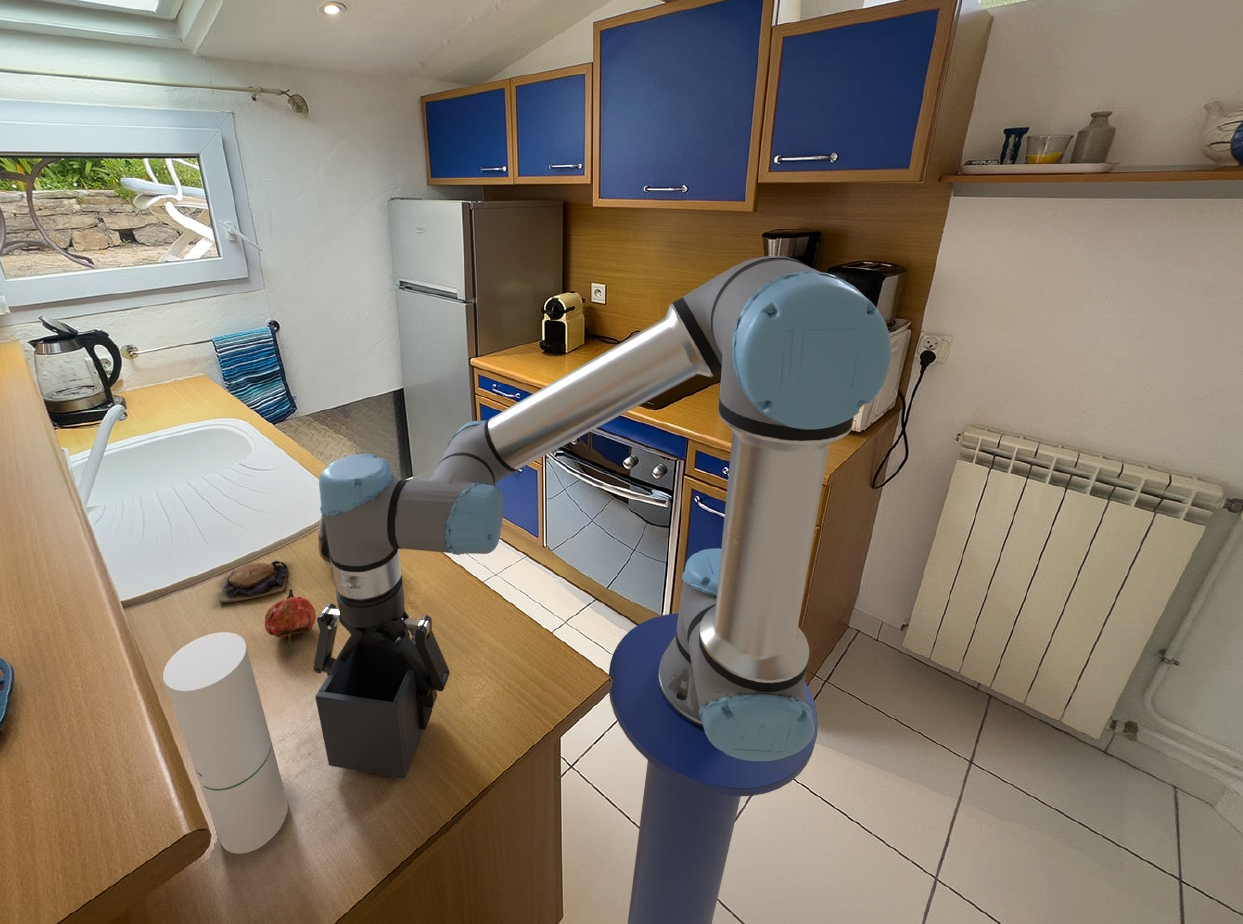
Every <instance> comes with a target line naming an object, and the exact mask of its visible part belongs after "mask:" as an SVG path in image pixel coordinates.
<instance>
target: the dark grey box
mask: <svg viewBox="0 0 1243 924" xmlns="http://www.w3.org/2000/svg"><path fill="white" fill-rule="evenodd" d="M411 640H412V639H411ZM412 642H413V643H414V644H415V641H413V640H412ZM394 643H395V642H394ZM415 646H416V644H415ZM418 687H419V686H418V685H417V684H416V683H415V675H414V670H408V671H406V670H405V669H404V667H403V666H402V665H401V663H400V662H399V661H398V660H397V658H396V657H395V656H393V657H391V656H390V655H389V654H388V652H387V651H386V650H385V648H379V647H376V646H364V645H362V643H360V642H358V643H357V645H356V646H355V648H354V650H353V651H352V653H351V654H350V656H349V657H348V659H347V661H346V662H345V664H344V660H338V661H337V662H336V664H335V665H334V667H333V669H332V670H331V672H330V673H329V675H328V676H327V677H326V678H325V680H324V681H323V683H322V684H321V686H320V688H319V690H318V691H317V693H316V694H315V696H314V697H315V702H316V708H317V712H318V718H319V723H320V727H321V734H322V738H323V742H324V743H323V744H324V748H325V752H326V756H327V757H326V758H327V762H328V766H329V767H334V768H335V767H336V768H339V769H347V770H352V771H359V772H364V773H369V774H375V775H382V776H387V777H393V778H399V779H404V780H405V779H406V777H407V775H408V772H409V769H410V767H411V764H412V762H413V759H414V757H415V754H416V752H417V749H418V747H419V744H420V741H421V739H422V736H423V734H424V731H425V730H422V729H420V727H419V718H418V708H417V699H416V692H417V689H418Z"/></svg>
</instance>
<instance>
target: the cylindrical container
mask: <svg viewBox="0 0 1243 924" xmlns="http://www.w3.org/2000/svg"><path fill="white" fill-rule="evenodd" d="M162 674H163V675H162V679H163V682H164V685H165V688H166V691H167V694H168V697H169V700H170V702H171V705H172V709H173V711H174V713H175V716H176V720H177V722H178V726H179V728H180V732H181V733H182V737H183V739H184V742H185V745H186V747H187V751H188V753H189V757H190V759H191V763H192V765H193V768H194V771H195V774H196V776H197V779H198V782H199V785H200V788H201V791H202V794H203V796H204V800H205V802H206V806H207V808H208V810H209V814H210V817H211V819H212V821H213V825H214V827H215V830H216V833H217V837H218V839H219V842H220V844H221V846H222V847H223V849H224V850H225V851H227V852H228V853H231V854H236V855H240V854H246V853H247V854H248V853H251V852H253V851H256V850H258V849H260V848H262V847H263V846H264V845H266V844H267V843H268V842H269V841H271V840H272V839H273V838H274V837H275V836H276V834H278V832H279V831H280V830H281V828H282V826H283V825H284V822H285V821H286V817H287V815H288V809H289V806H288V805H289V804H288V799H287V798H288V797H287V794H286V791H285V787H284V783H283V779H282V775H281V772H280V768H279V764H278V761H277V758H276V757H277V756H276V753H275V750H274V746H273V742H272V738H271V734H270V730H269V727H268V722H267V719H266V715H265V712H264V711H265V710H264V707H263V705H262V700H261V697H260V692H259V689H258V684H257V681H256V678H255V677H256V676H255V675H254V669H253V665H252V662H251V659H250V655H249V651H248V646H247V644H246V641H245V639H244V638H243V637H242V636H241V635H239V634H237V633H234V632H228V631H222V632H214V633H209V634H206V635H203V636H200V637H198V638H195V639H194V640H192V641H191V642H189V643H187V644H185V645H184V646H182V647H181V648H180V649H178V650H177V651H176V652H175V653H174V654H173V655H172V656H171V657H170V658H169V660H168V662H167V663H166V665H165V667H164V669H163V673H162Z"/></svg>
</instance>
